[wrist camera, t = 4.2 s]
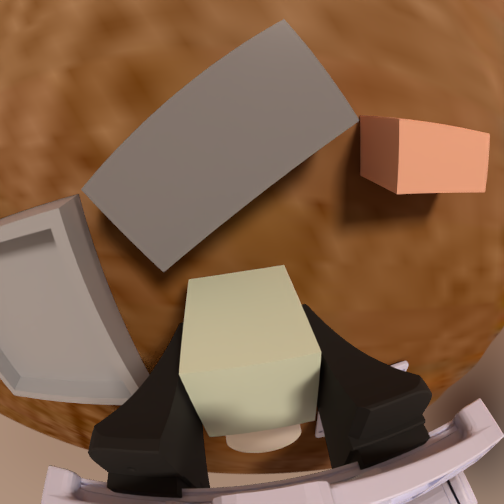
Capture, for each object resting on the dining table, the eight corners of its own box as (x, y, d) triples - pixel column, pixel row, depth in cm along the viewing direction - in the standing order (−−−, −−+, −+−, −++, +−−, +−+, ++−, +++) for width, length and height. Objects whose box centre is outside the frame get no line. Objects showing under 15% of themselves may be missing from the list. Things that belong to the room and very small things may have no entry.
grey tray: (152, 380, 18) (149, 404, 17) (22, 377, 18) (14, 395, 16) (78, 193, 12) (58, 208, 10) (-53, 240, 12) (-70, 254, 10)
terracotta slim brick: (443, 174, 14) (484, 192, 11) (358, 174, 14) (396, 194, 11) (446, 124, 13) (489, 134, 10) (358, 115, 12) (399, 118, 9)
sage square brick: (287, 334, 15) (314, 420, 10) (207, 347, 15) (209, 436, 10) (284, 264, 13) (321, 351, 8) (188, 279, 13) (178, 374, 8)
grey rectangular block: (325, 117, 12) (359, 120, 9) (174, 236, 14) (163, 272, 11) (266, 42, 11) (283, 19, 7) (111, 170, 12) (81, 189, 9)
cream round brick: (286, 391, 21) (300, 445, 16) (227, 401, 20) (232, 456, 16) (284, 353, 19) (302, 414, 14) (216, 364, 18) (219, 427, 14)
